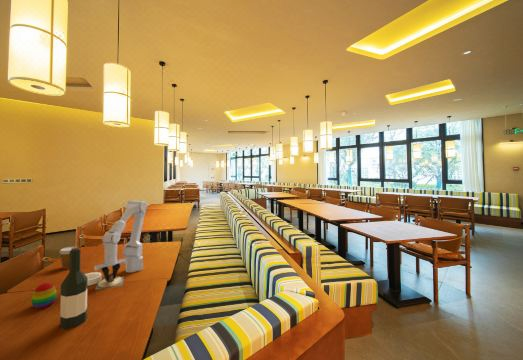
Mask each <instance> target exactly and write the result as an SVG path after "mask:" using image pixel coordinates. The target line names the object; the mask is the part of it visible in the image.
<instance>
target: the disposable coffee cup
mask: <svg viewBox="0 0 523 360" xmlns="http://www.w3.org/2000/svg"><path fill="white" fill-rule="evenodd" d="M75 247H76V246H67V247H64V248H61V249H60V250H59V251H58V252H59V254H60V260H61V267H62V270H69V267H70V251H71V249H72V248H75Z"/></svg>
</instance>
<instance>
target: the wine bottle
mask: <svg viewBox="0 0 523 360" xmlns="http://www.w3.org/2000/svg"><path fill="white" fill-rule="evenodd" d="M74 247H75V248H72V249H71V251H70V267H69V269H68V270H69V271H68V274H67V275H66V277H65V278H64V280H63V281H62V282H61V284H60V309H59V310H60V314H59V315H60V316H59V317H60V318H59V319H60V320H59V323H60V324H59V327H60V328H62V329H64V330H67V329H72V328H77V327H78V326H80V325H82V324H85V322H86V321H87V319H88V313H87V312H88V286H87V282H88V278H87V277H86V275H85V274H86V273H84V272H83V271H82V269H81V252H82V251H81V250H82V249H80V247H79V246H74Z"/></svg>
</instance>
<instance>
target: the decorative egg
mask: <svg viewBox="0 0 523 360" xmlns="http://www.w3.org/2000/svg"><path fill="white" fill-rule="evenodd" d="M57 292H58V291H57V288H56V287H55V285H54V284H52V283H50V282H43V283H41V284H39V285H38V286H37V287H36V288H35V289H34V291H33V293H32V295H31V304H32V306H33V307H34V308H35V309H44V308H47V307H50V306H51V305H52V304H53V303H54V302H55V300H56V298H57V294H58V293H57Z"/></svg>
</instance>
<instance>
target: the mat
mask: <svg viewBox="0 0 523 360" xmlns="http://www.w3.org/2000/svg"><path fill="white" fill-rule="evenodd" d="M120 277H121V278H122V282H121V283H120V284H118V285H115V286H112V287H106V288H102V287H99V286H98V283H99V282H98V283H96V286H95V288H94V291H97V290H104V289H110V288H114V287H121V286H123V285H124V279H125V276H124V275H122V276H120Z"/></svg>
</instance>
